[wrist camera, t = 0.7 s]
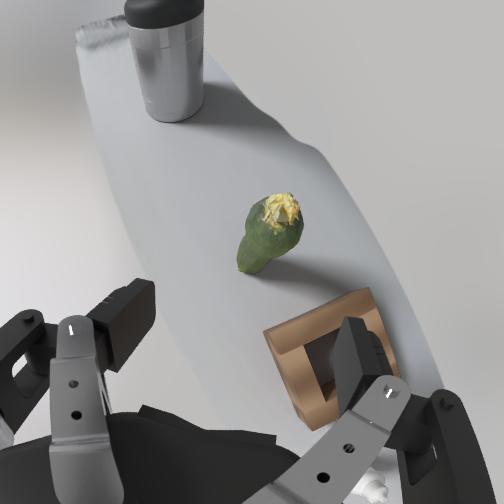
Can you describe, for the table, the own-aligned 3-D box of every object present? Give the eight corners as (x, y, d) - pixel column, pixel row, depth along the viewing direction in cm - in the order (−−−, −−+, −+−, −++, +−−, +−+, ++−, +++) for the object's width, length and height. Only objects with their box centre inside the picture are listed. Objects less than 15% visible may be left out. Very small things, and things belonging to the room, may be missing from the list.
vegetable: (241, 240, 35) (271, 143, 16) (275, 251, 35) (339, 170, 16) (229, 273, 34) (247, 207, 15) (264, 285, 34) (324, 236, 15)
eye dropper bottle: (345, 440, 30) (392, 475, 19) (363, 462, 30) (409, 497, 18) (319, 460, 29) (358, 503, 18) (338, 481, 29) (378, 522, 17)
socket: (262, 331, 33) (271, 332, 28) (348, 292, 35) (368, 287, 30) (298, 417, 31) (312, 431, 25) (378, 373, 33) (401, 379, 28)
